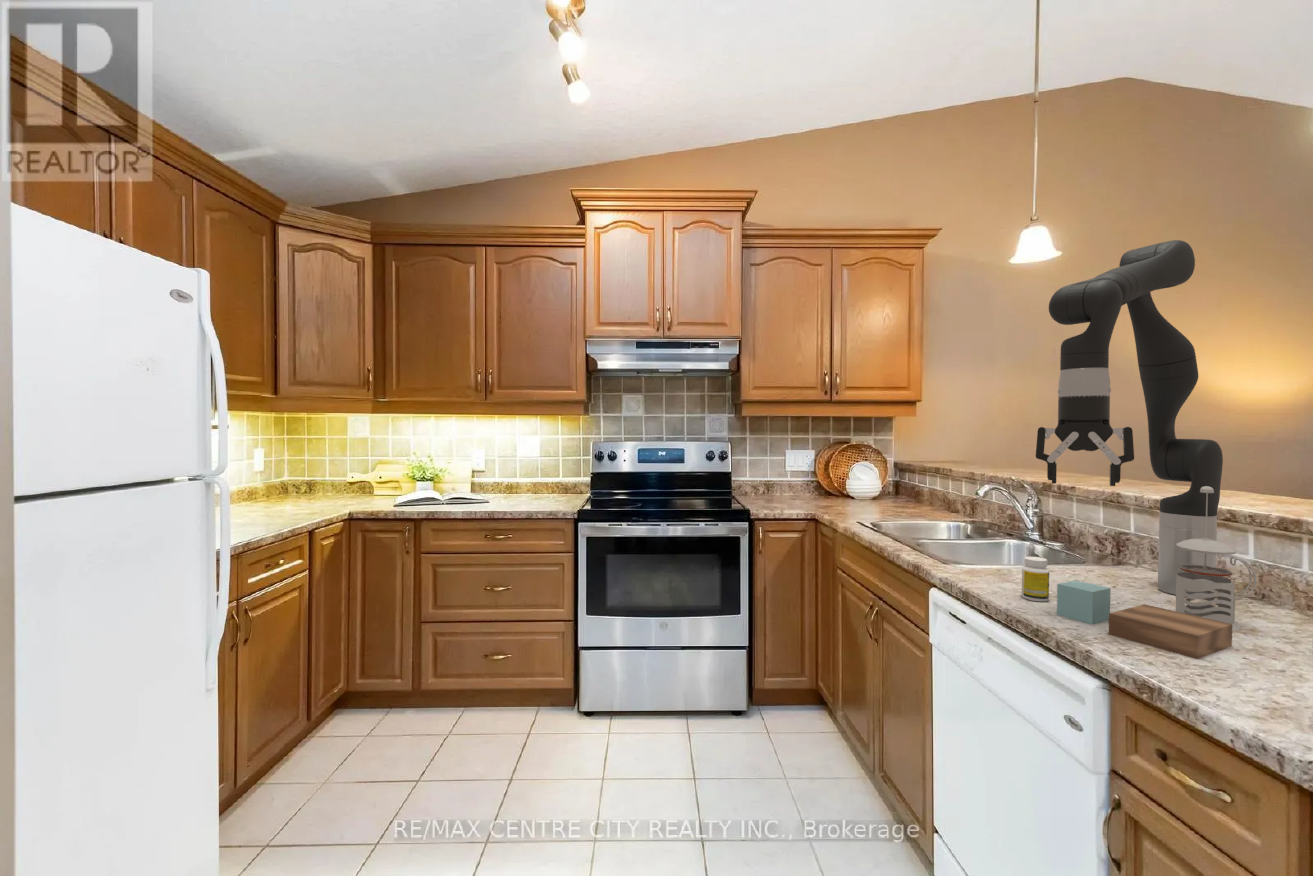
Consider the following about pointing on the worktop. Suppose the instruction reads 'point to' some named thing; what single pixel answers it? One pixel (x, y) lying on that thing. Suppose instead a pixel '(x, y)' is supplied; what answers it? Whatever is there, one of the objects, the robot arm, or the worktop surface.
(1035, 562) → the supplement bottle
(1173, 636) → the walnut block
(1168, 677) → the worktop surface
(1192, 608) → the french press
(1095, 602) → the teal cube
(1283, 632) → the worktop surface
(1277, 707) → the worktop surface
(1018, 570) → the worktop surface
